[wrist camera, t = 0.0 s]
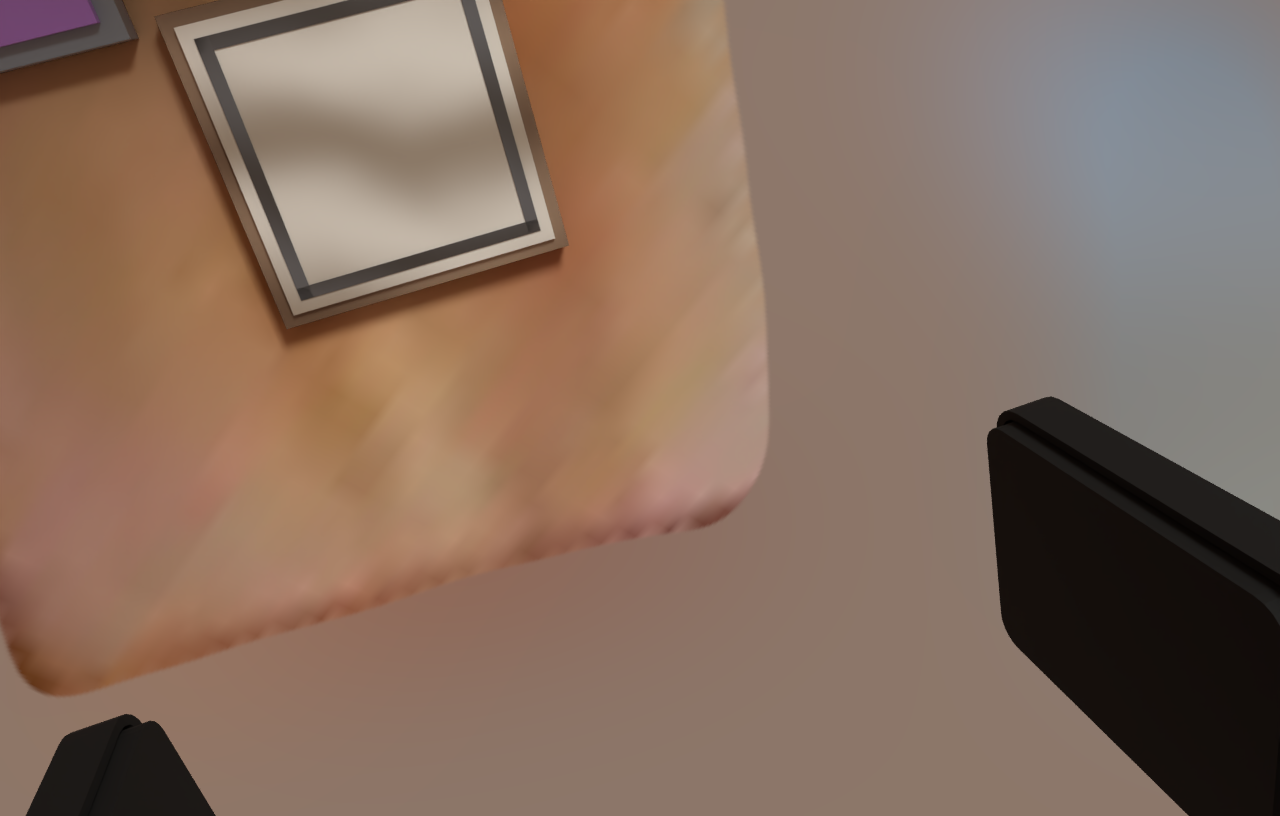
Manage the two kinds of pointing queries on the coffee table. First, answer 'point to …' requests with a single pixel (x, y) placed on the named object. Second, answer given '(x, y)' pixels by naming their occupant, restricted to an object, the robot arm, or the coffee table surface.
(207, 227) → the coffee table surface
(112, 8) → the ink pad
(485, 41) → the white square tile
